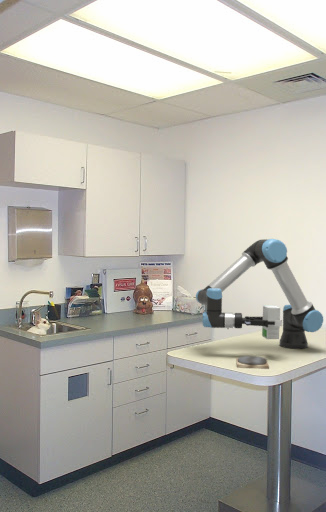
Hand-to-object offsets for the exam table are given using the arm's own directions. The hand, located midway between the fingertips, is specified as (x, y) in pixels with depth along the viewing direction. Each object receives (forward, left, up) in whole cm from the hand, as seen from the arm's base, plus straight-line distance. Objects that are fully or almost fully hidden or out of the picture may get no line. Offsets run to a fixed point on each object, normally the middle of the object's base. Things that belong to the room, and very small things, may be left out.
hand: (280, 321), depth 236 cm
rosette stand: (+14, +15, -18) cm, 27 cm away
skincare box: (+4, 0, -8) cm, 9 cm away
